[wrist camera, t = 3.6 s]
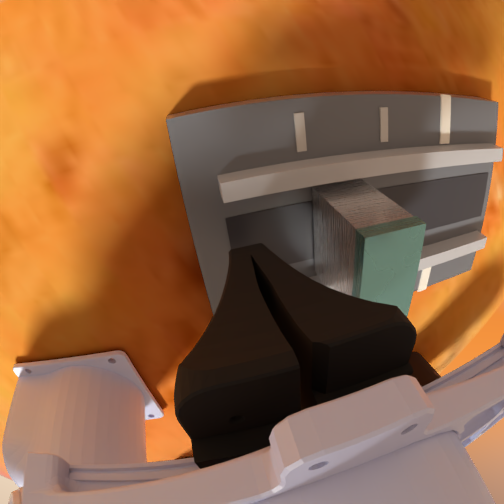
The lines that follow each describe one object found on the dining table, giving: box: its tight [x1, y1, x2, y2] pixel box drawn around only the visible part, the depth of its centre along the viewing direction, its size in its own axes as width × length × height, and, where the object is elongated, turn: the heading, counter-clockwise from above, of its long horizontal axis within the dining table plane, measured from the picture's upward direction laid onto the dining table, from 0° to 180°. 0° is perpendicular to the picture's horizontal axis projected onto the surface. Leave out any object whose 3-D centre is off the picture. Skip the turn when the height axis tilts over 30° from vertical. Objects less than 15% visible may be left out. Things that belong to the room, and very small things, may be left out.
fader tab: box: [312, 179, 426, 317], centre depth 13 cm, size 2×4×5 cm, turn 6°
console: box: [166, 91, 503, 316], centre depth 15 cm, size 18×12×2 cm
